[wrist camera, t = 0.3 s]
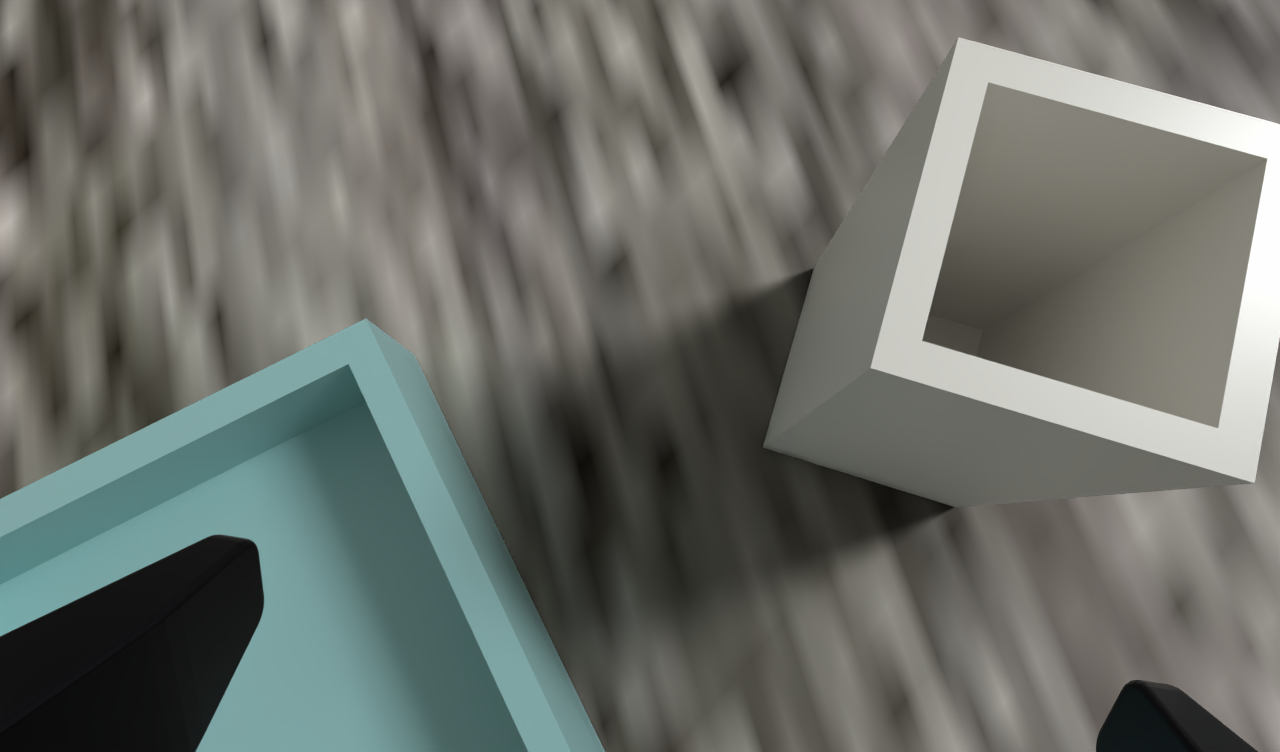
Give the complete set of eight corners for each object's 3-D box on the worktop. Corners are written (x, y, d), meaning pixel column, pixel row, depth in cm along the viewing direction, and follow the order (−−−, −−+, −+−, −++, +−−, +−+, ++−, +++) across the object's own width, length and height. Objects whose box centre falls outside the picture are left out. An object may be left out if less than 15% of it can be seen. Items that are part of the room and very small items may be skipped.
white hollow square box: (1000, 321, 23) (1314, 133, 12) (955, 507, 22) (1254, 482, 11) (814, 267, 23) (957, 37, 12) (762, 447, 22) (870, 368, 11)
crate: (638, 821, 21) (636, 889, 17) (134, 1105, 19) (4, 1250, 16) (414, 355, 23) (365, 318, 19) (-47, 585, 22) (-200, 597, 18)
